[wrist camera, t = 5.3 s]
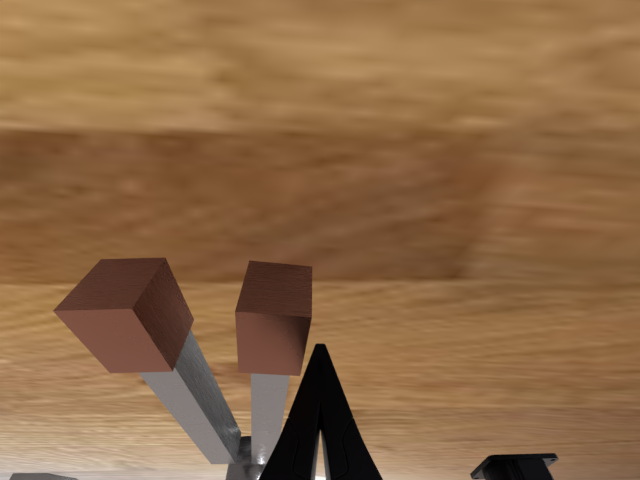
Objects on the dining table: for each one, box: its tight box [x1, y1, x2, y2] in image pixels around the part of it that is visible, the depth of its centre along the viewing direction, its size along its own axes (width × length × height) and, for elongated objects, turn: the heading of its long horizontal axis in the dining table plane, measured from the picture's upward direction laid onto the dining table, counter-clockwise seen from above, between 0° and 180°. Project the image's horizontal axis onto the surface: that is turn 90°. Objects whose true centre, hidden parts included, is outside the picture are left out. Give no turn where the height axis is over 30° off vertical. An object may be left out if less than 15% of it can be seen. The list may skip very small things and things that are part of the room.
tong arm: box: [225, 260, 312, 480], centre depth 17 cm, size 22×4×3 cm, turn 172°
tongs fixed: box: [53, 258, 241, 464], centre depth 18 cm, size 26×4×3 cm, turn 1°
